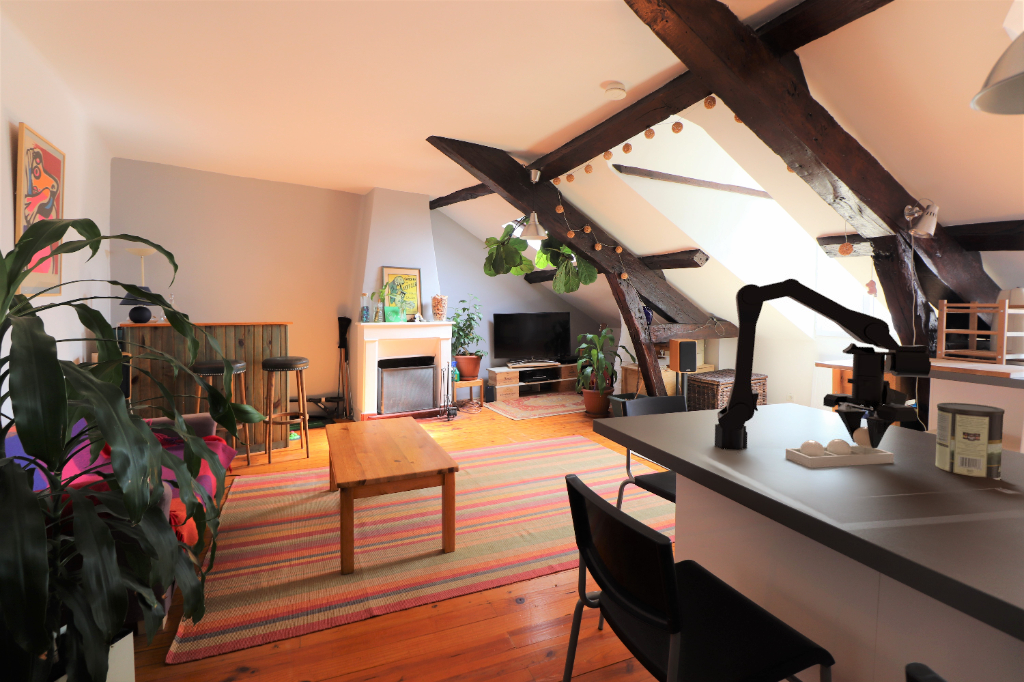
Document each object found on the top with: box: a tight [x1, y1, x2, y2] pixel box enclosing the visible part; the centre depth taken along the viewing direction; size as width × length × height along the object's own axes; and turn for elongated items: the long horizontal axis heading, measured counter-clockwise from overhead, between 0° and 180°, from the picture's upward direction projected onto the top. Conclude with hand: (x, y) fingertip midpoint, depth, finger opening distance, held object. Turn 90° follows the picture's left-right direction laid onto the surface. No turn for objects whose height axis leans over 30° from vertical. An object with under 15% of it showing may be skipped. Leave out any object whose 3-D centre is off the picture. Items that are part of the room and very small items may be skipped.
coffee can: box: [935, 402, 1006, 481], centre depth 104 cm, size 10×10×14 cm
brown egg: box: [853, 426, 871, 448], centre depth 112 cm, size 5×5×5 cm
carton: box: [785, 444, 895, 468], centre depth 111 cm, size 20×7×3 cm, turn 100°
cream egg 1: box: [799, 439, 825, 457], centre depth 110 cm, size 5×5×5 cm
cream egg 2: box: [826, 438, 852, 455], centre depth 111 cm, size 5×5×5 cm
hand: (865, 445), depth 112 cm, fingers closed on brown egg, 4 cm apart
